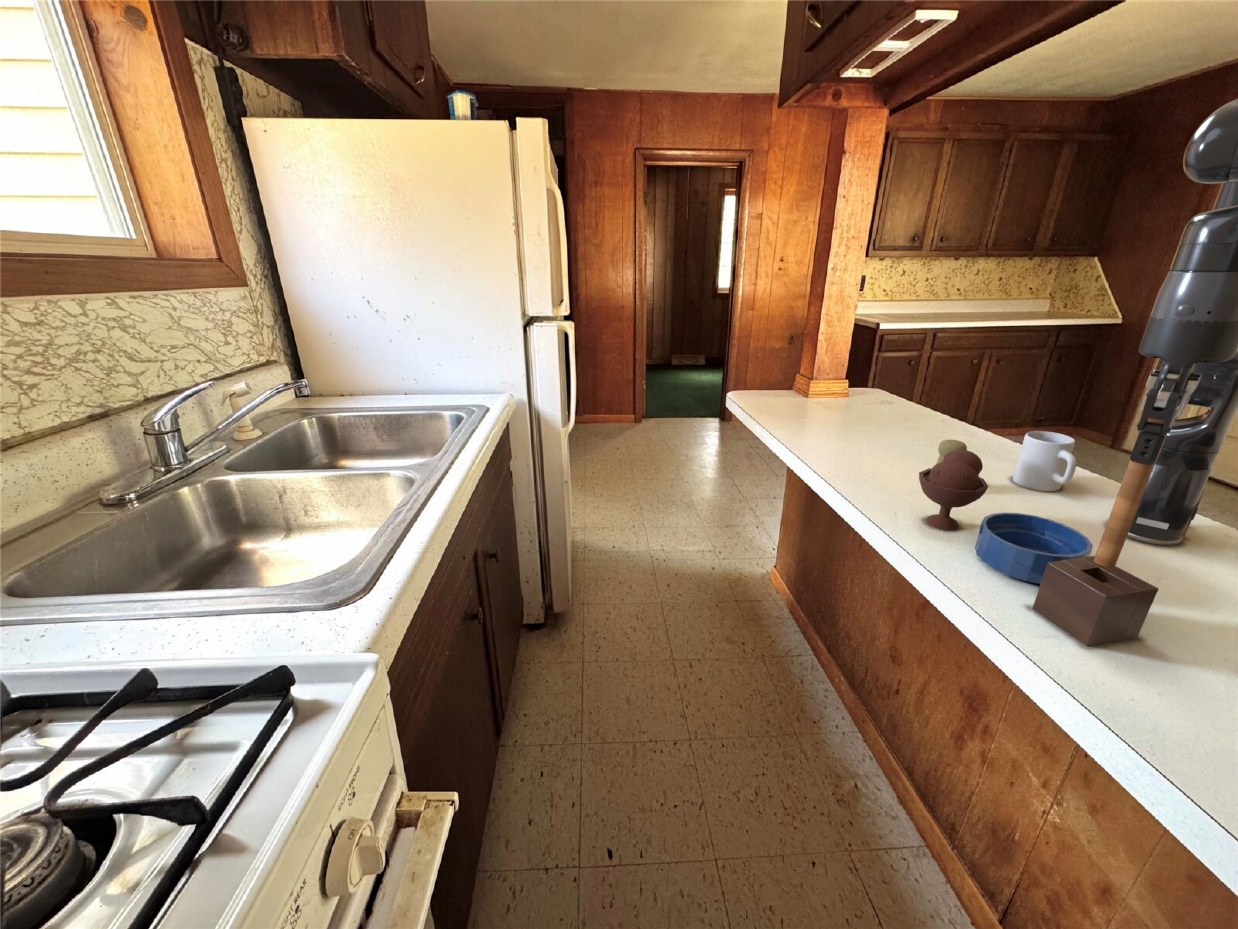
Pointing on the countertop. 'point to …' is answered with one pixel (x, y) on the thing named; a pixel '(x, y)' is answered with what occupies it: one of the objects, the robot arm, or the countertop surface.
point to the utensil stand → (1094, 600)
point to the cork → (949, 448)
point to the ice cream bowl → (952, 486)
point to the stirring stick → (1124, 511)
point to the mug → (1045, 461)
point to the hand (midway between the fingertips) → (1143, 459)
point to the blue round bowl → (1027, 544)
